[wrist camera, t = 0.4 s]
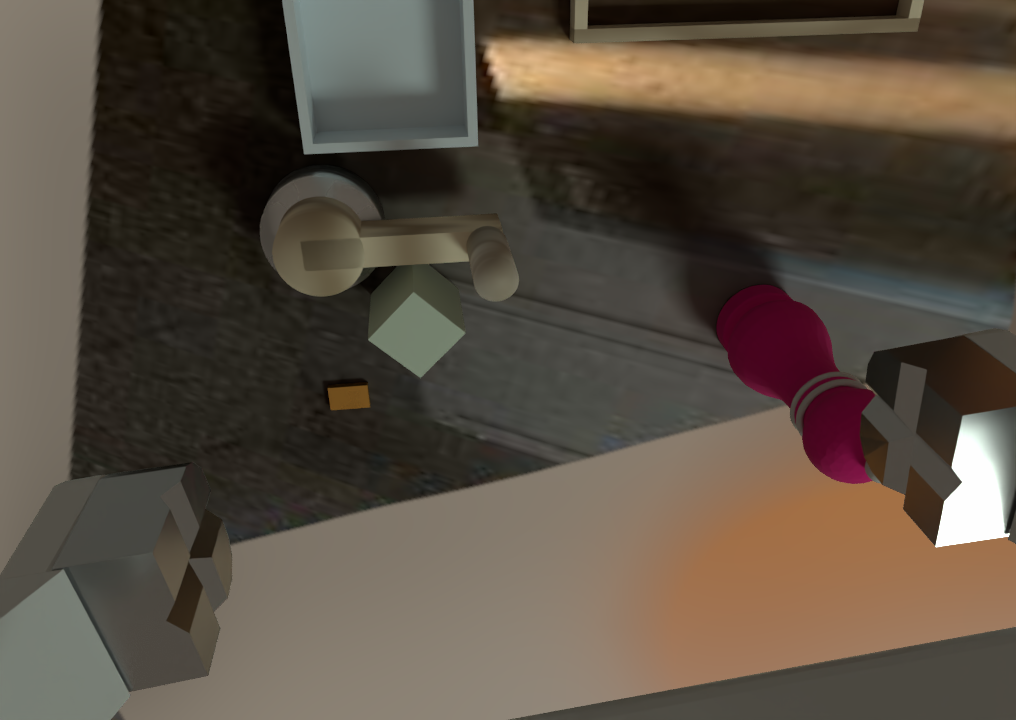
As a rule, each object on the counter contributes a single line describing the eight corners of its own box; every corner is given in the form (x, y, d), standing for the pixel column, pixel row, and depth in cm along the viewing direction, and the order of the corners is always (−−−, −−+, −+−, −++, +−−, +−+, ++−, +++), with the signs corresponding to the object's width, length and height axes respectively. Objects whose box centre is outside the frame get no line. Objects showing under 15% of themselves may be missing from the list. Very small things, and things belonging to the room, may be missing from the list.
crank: (285, 279, 53) (268, 340, 46) (271, 198, 50) (250, 249, 43) (502, 266, 55) (519, 322, 47) (501, 186, 52) (518, 233, 44)
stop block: (370, 294, 58) (367, 339, 52) (411, 250, 56) (413, 292, 50) (418, 329, 60) (420, 377, 54) (458, 288, 58) (465, 332, 52)
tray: (283, -45, 46) (276, -41, 43) (466, -49, 47) (471, -46, 44) (309, 139, 52) (304, 154, 49) (473, 132, 53) (478, 146, 50)
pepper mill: (691, 339, 63) (803, 503, 46) (745, 263, 60) (885, 407, 43) (762, 372, 65) (893, 539, 48) (816, 299, 63) (976, 450, 45)
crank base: (256, 167, 52) (249, 180, 50) (379, 161, 53) (378, 173, 51) (298, 409, 62) (294, 429, 59) (402, 401, 63) (402, 421, 60)
